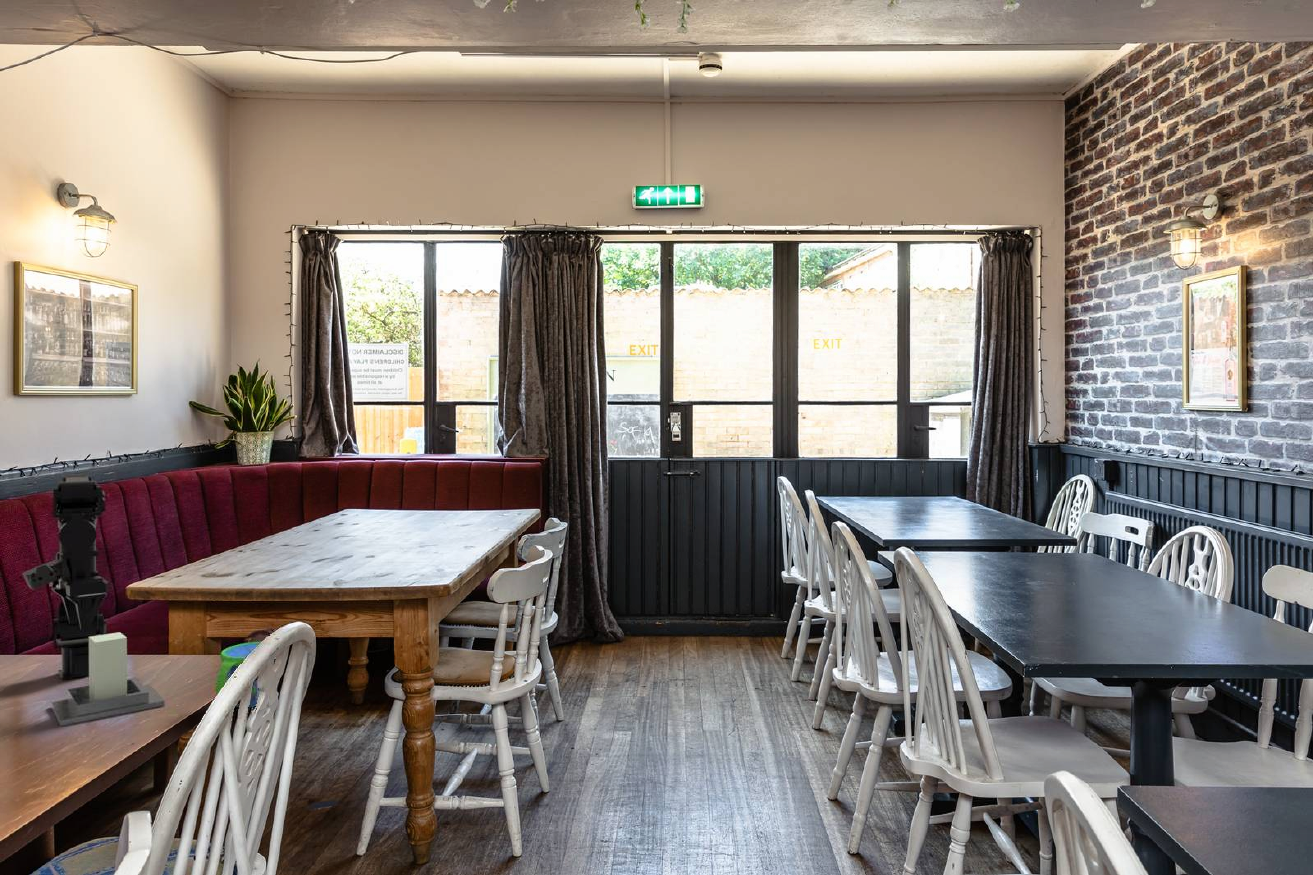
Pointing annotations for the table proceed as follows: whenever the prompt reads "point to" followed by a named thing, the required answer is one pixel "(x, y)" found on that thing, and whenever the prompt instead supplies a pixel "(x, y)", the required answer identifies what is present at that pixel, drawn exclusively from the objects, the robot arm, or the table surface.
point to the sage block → (107, 666)
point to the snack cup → (236, 666)
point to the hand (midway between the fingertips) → (78, 626)
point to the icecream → (259, 635)
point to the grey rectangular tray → (105, 703)
